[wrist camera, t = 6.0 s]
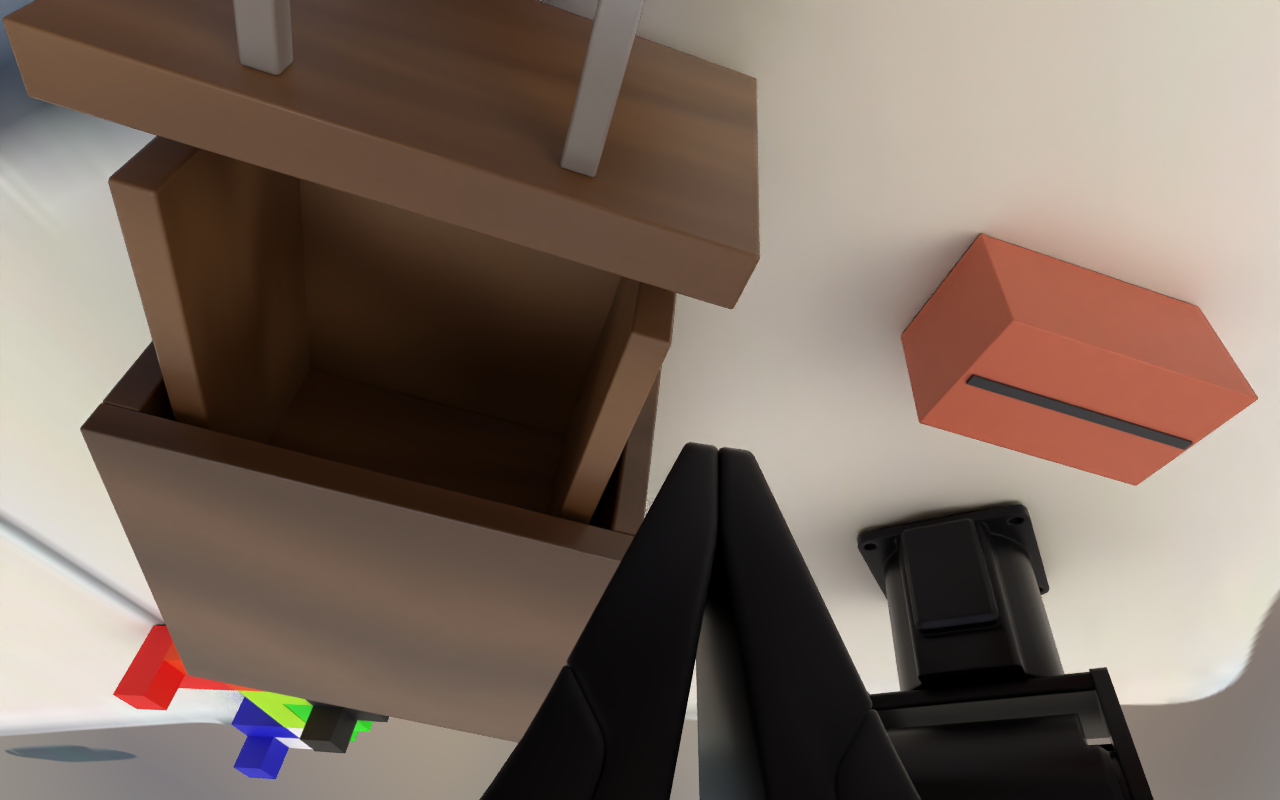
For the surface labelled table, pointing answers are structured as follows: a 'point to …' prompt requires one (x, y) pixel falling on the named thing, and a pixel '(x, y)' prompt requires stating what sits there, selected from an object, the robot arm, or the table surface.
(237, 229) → the drawer
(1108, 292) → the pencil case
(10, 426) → the table surface
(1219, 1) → the table surface
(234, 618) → the cabinet
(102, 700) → the table surface
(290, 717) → the building blocks
